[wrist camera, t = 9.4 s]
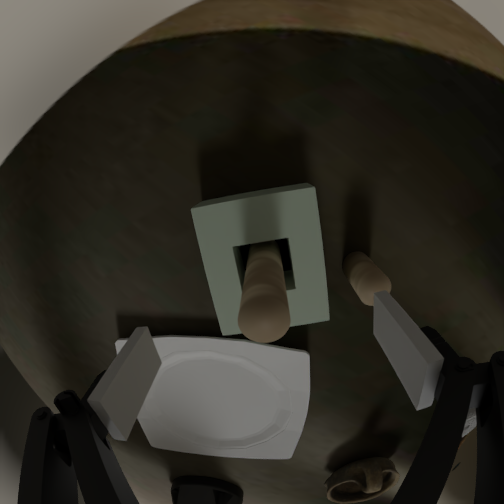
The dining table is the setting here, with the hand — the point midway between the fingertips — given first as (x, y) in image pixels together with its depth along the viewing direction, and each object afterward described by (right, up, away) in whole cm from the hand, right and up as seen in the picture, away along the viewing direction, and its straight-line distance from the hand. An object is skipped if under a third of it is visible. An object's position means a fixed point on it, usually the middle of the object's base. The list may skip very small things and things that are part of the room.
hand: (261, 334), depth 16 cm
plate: (-5, -16, +20) cm, 26 cm away
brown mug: (+19, -34, +25) cm, 46 cm away
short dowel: (+10, +3, +13) cm, 17 cm away
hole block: (+1, +4, +13) cm, 14 cm away
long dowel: (+1, +5, +13) cm, 14 cm away
